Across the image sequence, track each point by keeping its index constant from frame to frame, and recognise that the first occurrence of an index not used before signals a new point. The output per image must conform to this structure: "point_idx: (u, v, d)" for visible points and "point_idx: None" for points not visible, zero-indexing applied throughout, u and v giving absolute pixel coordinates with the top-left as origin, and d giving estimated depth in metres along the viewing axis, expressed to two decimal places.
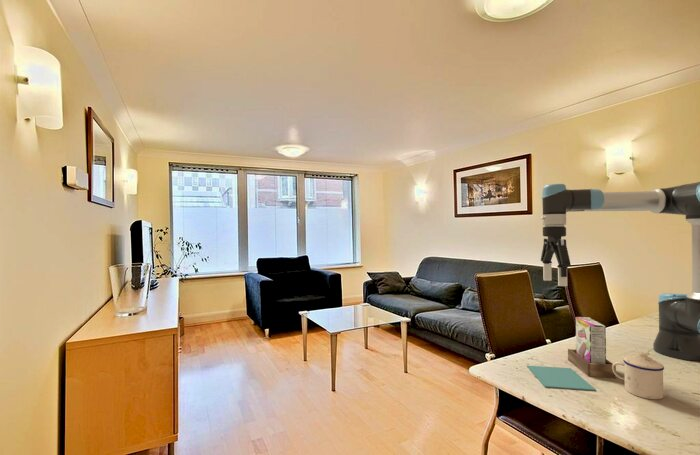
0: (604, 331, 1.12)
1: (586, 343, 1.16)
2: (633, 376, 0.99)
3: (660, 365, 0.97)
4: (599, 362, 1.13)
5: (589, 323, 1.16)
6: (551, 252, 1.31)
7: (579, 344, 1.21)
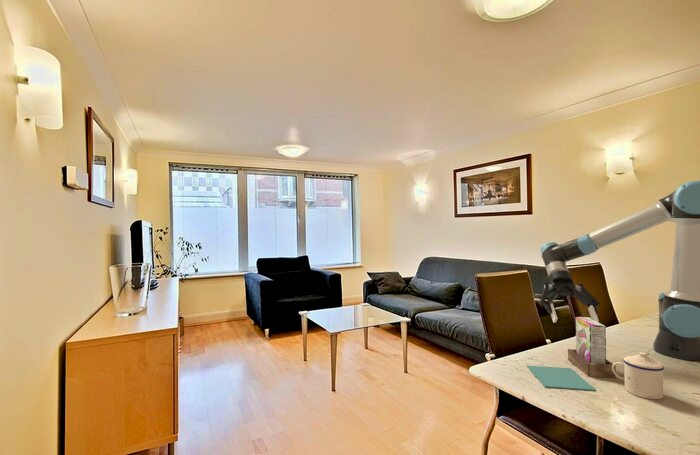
0: (604, 331, 1.12)
1: (586, 343, 1.16)
2: (633, 376, 0.99)
3: (660, 365, 0.97)
4: (599, 362, 1.13)
5: (589, 323, 1.16)
6: (577, 295, 1.32)
7: (579, 344, 1.21)
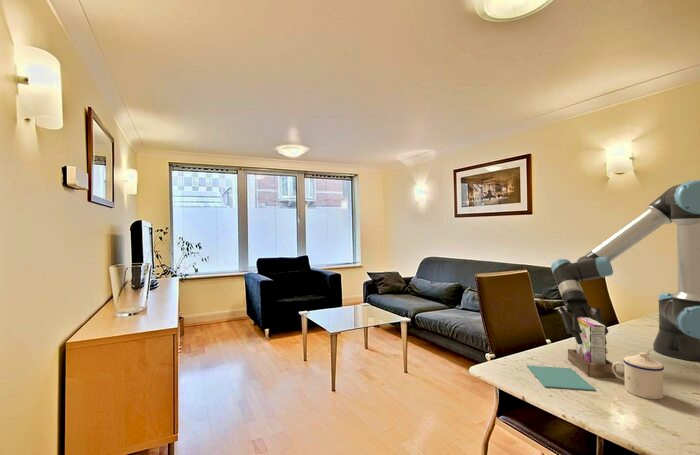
0: (604, 331, 1.12)
1: (586, 342, 1.16)
2: (633, 376, 0.99)
3: (660, 365, 0.97)
4: (599, 362, 1.13)
5: (589, 323, 1.16)
6: None
7: (579, 344, 1.21)
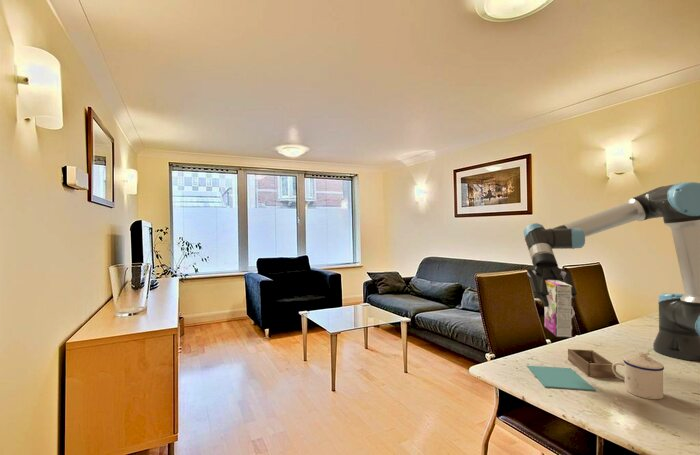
0: (570, 291, 1.06)
1: (552, 304, 1.10)
2: (633, 376, 0.99)
3: (660, 365, 0.97)
4: (565, 324, 1.06)
5: (556, 283, 1.09)
6: None
7: (546, 307, 1.15)
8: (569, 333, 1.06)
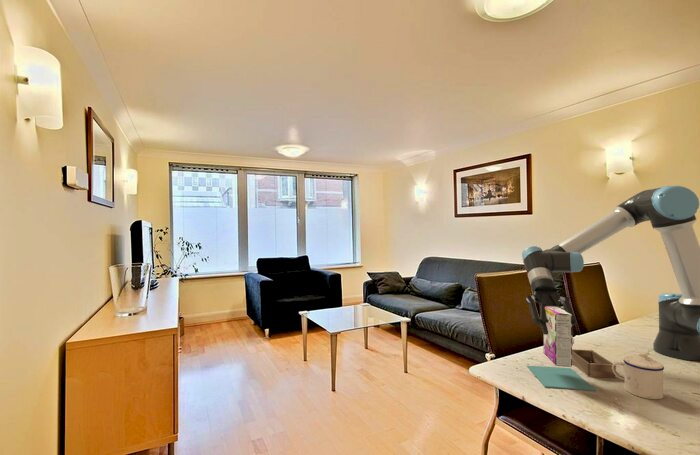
0: (570, 320, 1.05)
1: None
2: (633, 376, 0.99)
3: (660, 365, 0.97)
4: (565, 353, 1.06)
5: (555, 312, 1.08)
6: None
7: None
8: (569, 362, 1.05)
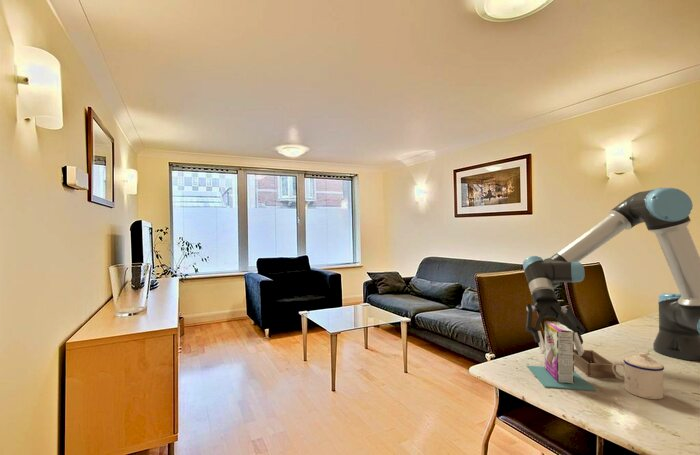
0: (572, 337, 1.05)
1: (553, 349, 1.09)
2: (633, 376, 0.99)
3: (660, 365, 0.97)
4: (566, 370, 1.05)
5: (557, 328, 1.08)
6: (561, 319, 1.15)
7: (547, 350, 1.14)
8: (571, 379, 1.05)
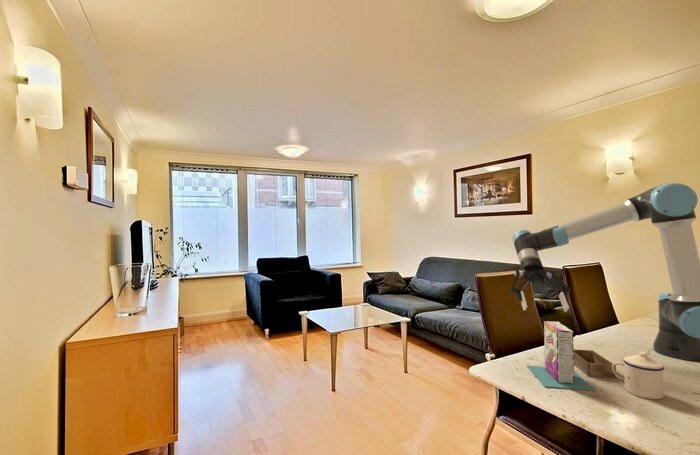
0: (572, 337, 1.05)
1: (553, 349, 1.09)
2: (633, 376, 0.99)
3: (660, 365, 0.97)
4: (566, 370, 1.05)
5: (556, 328, 1.08)
6: (547, 282, 1.29)
7: (547, 350, 1.14)
8: (571, 379, 1.05)
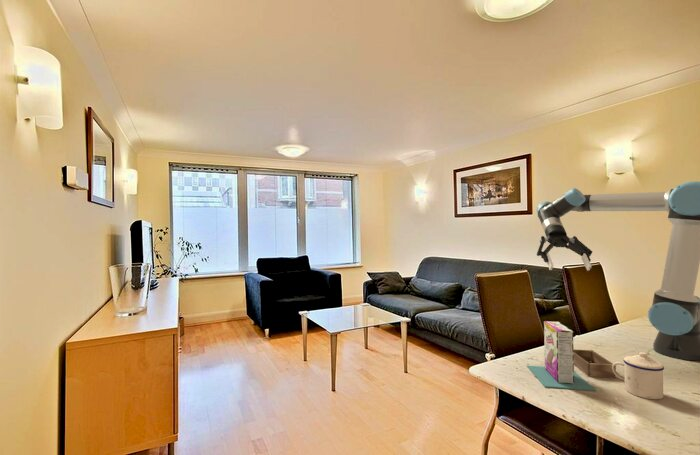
0: (572, 337, 1.05)
1: (553, 349, 1.09)
2: (633, 376, 0.99)
3: (660, 365, 0.97)
4: (566, 370, 1.05)
5: (556, 328, 1.08)
6: (571, 246, 1.42)
7: (547, 350, 1.14)
8: (571, 379, 1.05)
